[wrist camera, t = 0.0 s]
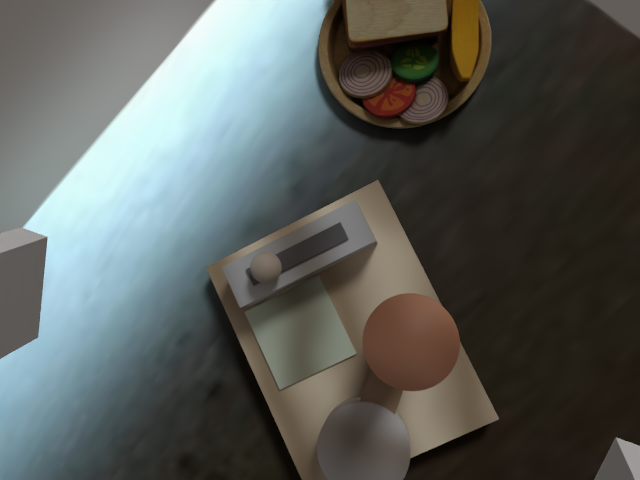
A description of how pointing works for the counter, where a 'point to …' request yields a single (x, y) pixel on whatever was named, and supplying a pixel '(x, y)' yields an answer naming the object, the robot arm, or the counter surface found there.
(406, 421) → the stand
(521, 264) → the counter surface
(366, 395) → the lever
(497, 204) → the counter surface
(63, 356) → the counter surface
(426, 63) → the toy sandwich meal
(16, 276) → the robot arm
